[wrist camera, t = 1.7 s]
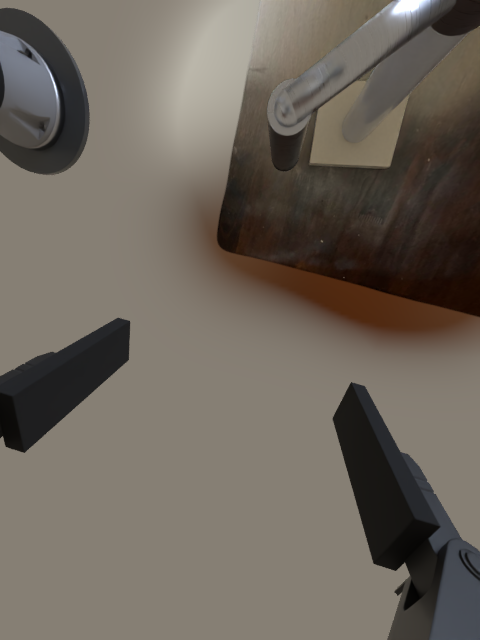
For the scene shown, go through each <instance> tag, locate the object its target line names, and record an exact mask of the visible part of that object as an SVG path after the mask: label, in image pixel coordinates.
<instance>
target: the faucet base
mask: <svg viewBox="0 0 480 640" xmlns="http://www.w3.org/2000/svg"><path fill="white" fill-rule="evenodd" d="M470 32H471V31H470ZM470 32H468V33H465V34H462V35H458V36H445V35H442V34H440V33H438V32H436V31H435V30H434V29H433V28H432V27H431V26H430V27H428V28H427V29H426V30H424V31H423V32H421V33H420V34H419V35H417V36H416V37H415V38H413V39H412V40H411V41H409V42H408V43H407V44H405V45H404V46H403V47H401V48H400V49H398V50H397V51H396V52H394V53H393V54H392V55H390V56H389V57H388V58H386V59H385V60H384V61H382V62H381V63H380V64H378V65H377V66H376V67H375V68H374V70H373V71H372V73H371V75H370V76H369V78H368V80H367V81H355V82H354V83H353V84H351V85H350V86H348V87H347V88H346V89H344V90H343V91H342V92H340V93H339V94H338V95H336V96H335V97H334V98H332V99H331V100H330V101H328V102H327V103H325V104H324V105H323V106H321V107H320V108H319V109H317V115H316V121H315V128H314V134H313V140H312V147H311V153H310V159H309V165H314V166H333V167H353V168H373V169H387V168H389V167H390V164H391V161H392V157H393V153H394V150H395V146H396V142H397V139H398V135H399V131H400V128H401V124H402V120H403V117H404V113H405V109H406V105H407V102H408V98H409V94H410V93H411V92H412V91H413V90H414V89H415V88H416V87H417V86H418V85H419V84H420V83H421V82H422V81H423V80H424V79H425V78H426V76H427V75H428V74H429V73H430V72H431V71H432V70H433V69H434V68H435V67H436V66H437V65H438V64H439V63H440V62H441V61H442V60H443V59H444V58H445V57H446V56H447V55H448V54H449V53H450V52H451V51H452V50H453V49H454V48H455V47H456V46H457V45H458V44H459V43H460V42H461V41H462V40H463V39H464V38H465V37H466V36H467V35H468V34H469V33H470Z"/></svg>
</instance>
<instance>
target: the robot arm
mask: <svg viewBox="0 0 480 640" xmlns="http://www.w3.org/2000/svg"><path fill="white" fill-rule="evenodd" d="M64 121H65V104H64V98H63V93H62V89H61V86H60V83H59V81H58V79H57V77H56V74H55V73H54V71H53V69H52V67H51V66H50V64H49V63H48V62H47V60H46V59H45V58H44V57H43V56H42V55H41V54H40V53H39V52H38V51H37V50H36V49H34V48H33V47H32V46H30V45H29V44H28V43H26V42H25V41H23V40H22V39H20V38H18V37H16V36H14V35H12V34H9V33H6V32H3V31H0V135H1V136H3V137H4V138H6V139H7V140H9V141H10V142H12V143H14V144H16V145H18V146H21V147H24V148H28V149H31V150H44V149H47V148H49V147H51V146H52V145H53V144H54V143H55V142H56V141H57V140H58V138H59V137H60V135H61V132H62V130H63V126H64ZM129 338H130V321H128V320H124V319H120V318H117V319H115V320H113V321H111V322H110V323H108V324H106V325H104V326H103V327H101V328H99V329H98V330H96V331H94V332H92V333H91V334H89V335H87V336H85V337H84V338H82V339H80V340H78V341H76V342H75V343H73V344H71V345H69V346H68V347H66V348H64V349H62V350H60V351H59V352H57V353H54V352H50V353H46V354H44V355H40V356H37V357H35V358H34V359H31V360H30V361H28V362H26V363H25V364H22V365H20V366H18V367H17V368H16V369H15V370H11V371H9V372H7V373H5V374H4V375H2V376H0V438H1V437H2V436H3V438H4V442H5V445H6V447H8V448H11V449H15V450H17V451H20V452H24V453H25V452H26V451H27V450H28V449H29V448H30V447H31V446H33V445H34V444H35V443H36V442H37V441H38V440H39V439H40V438H42V437H43V436H44V435H45V434H46V433H47V432H48V431H49V430H50V429H52V428H53V427H54V426H55V425H56V424H57V423H58V422H59V421H61V420H62V419H63V418H64V417H65V416H66V415H67V414H68V413H69V412H71V411H72V410H73V409H74V408H75V407H76V406H77V405H79V404H80V403H81V402H82V401H83V400H84V399H85V398H86V397H88V396H89V395H90V394H91V393H92V392H93V391H94V390H95V389H96V388H98V387H99V386H100V385H101V384H102V383H103V382H104V381H106V380H107V379H108V378H109V377H110V376H111V375H112V374H113V373H115V372H116V371H117V370H118V369H119V368H120V367H121V366H122V365H123V364H125V363H126V362H127V361H128V360H129ZM333 421H334V425H335V429H336V432H337V435H338V439H339V443H340V446H341V450H342V453H343V456H344V461H345V464H346V468H347V471H348V475H349V478H350V482H351V485H352V488H353V492H354V496H355V499H356V503H357V506H358V509H359V514H360V517H361V521H362V524H363V528H364V531H365V535H366V538H367V542H368V545H369V549H370V552H371V556H372V560H373V563H374V564H376V565H379V566H382V567H385V568H389V569H392V570H395V571H396V570H397V569H398V568H399V567H400V566H401V565H402V564H404V562H405V563H406V566H407V568H408V571H409V573H410V577H409V578H408V579H406V580H405V581H404V582H403V583H402V584H401V585H400V586H399V587H398V588H397V589H396V590H395V593H396V594H397V595H399V594H400V593H402V595H401V598H400V601H399V604H398V608H397V611H396V614H395V617H394V621H393V624H392V627H391V630H390V633H389V636H388V640H480V552H479V551H478V550H477V549H476V548H475V547H473V546H472V545H470V544H469V543H467V542H466V541H463V540H462V539H461V537H460V535H459V534H458V532H457V530H456V528H455V527H454V525H453V523H452V522H451V520H450V518H449V516H448V515H447V513H446V511H445V510H444V508H443V506H442V504H441V503H440V501H439V500H438V498H437V496H436V494H434V493H433V492H434V491H433V489H432V487H431V486H430V484H429V483H428V482H427V479H426V477H425V476H424V474H423V472H422V470H421V469H420V467H419V466H418V465H417V464H416V463H415V461H414V460H413V459H412V458H411V457H410V456H409V455H408V454H405V453H402V452H400V450H399V449H398V447H397V445H396V443H395V441H394V440H393V438H392V436H391V434H390V432H389V430H388V428H387V426H386V425H385V423H384V421H383V419H382V417H381V415H380V414H379V412H378V410H377V408H376V406H375V404H374V402H373V401H372V399H371V397H370V395H369V393H368V392H367V389H366V388H365V386H362V385H359V384H355V383H352V382H351V384H350V385H349V387H348V389H347V391H346V393H345V395H344V397H343V399H342V401H341V403H340V405H339V407H338V409H337V411H336V413H335V415H334V417H333Z"/></svg>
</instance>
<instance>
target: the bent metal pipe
mask: <svg viewBox="0 0 480 640" xmlns="http://www.w3.org/2000/svg"><path fill="white" fill-rule="evenodd" d="M430 26H431V27H432V28H433V29H434V30H435V31H436V32H438V33H440V34H442V35H445V36H458V35H462V34H465V33H468V32H470V31H472V30H473V29H475V28H477V27H478V26H480V0H394V1H392V2H391V3H390V4H389V5H387V6H386V7H385V8H384V9H382V10H381V11H380V12H379V13H377V14H376V15H375V16H374V17H372V18H371V19H370V20H369V21H368V22H366V23H365V24H364V25H363V26H361V27H360V28H359V29H358V30H356V31H355V32H354V33H353V34H351V35H350V36H349V37H348V38H346V39H345V40H344V41H343V42H341V43H340V44H339V45H338V46H337V47H335V48H334V49H333V50H332V51H330V52H329V53H328V54H327V55H325V56H324V57H323V58H322V59H320V60H319V61H318V62H317V63H315V64H314V65H313V66H312V67H310V68H309V69H308V70H307V71H305V72H304V73H303V74H302V75H301V76H299V77H298V78H297V79H288V80H285V81H283V82H281V83H280V84H279V85H278V86H277V87H276V88H275V89H274V90H273V92H272V94H271V96H270V98H269V101H268V106H267V117H268V127H269V137H270V147H271V157H272V162H273V165H274V166H275V168H276V169H278V170H280V171H289V170H291V169H292V168H293V167H294V166H295V165H296V164H297V162H298V159H299V156H300V152H301V149H302V145H303V142H304V139H305V135H306V132H307V128H308V125H309V121H310V118H311V115H312V113H313V112H315V111H316V110H317V109H319V108H320V107H321V106H323V105H324V104H325V103H327V102H328V101H330V100H331V99H332V98H334V97H335V96H336V95H338V94H339V93H340V92H342V91H343V90H344V89H346V88H347V87H348V86H350V85H351V84H353V83H354V82H355V81H357V80H358V79H359V78H361V77H362V76H363V75H365V74H366V73H367V72H369V71H370V70H371V69H373V68H374V67H376V66H377V65H378V64H380V63H381V62H382V61H384V60H385V59H386V58H388V57H389V56H390V55H392V54H393V53H394V52H396V51H397V50H398V49H400V48H401V47H403V46H404V45H405V44H407V43H408V42H409V41H411V40H412V39H413V38H415V37H416V36H417V35H419V34H420V33H421V32H423V31H424V30H426V29H427V28H428V27H430Z"/></svg>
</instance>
